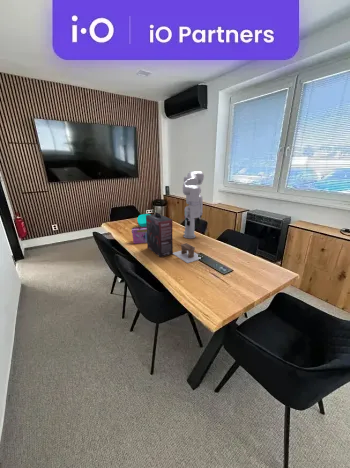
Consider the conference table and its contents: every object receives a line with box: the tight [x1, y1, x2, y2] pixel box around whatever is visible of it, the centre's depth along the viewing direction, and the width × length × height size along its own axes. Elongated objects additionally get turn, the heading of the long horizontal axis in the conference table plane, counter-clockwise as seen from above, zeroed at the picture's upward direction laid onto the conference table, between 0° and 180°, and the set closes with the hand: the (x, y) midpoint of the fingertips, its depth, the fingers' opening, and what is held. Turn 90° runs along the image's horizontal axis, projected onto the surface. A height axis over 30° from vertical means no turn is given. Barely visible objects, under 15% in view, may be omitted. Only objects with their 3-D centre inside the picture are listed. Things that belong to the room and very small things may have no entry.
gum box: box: [131, 226, 147, 245], centre depth 192 cm, size 24×8×14 cm, turn 106°
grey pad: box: [172, 250, 202, 264], centre depth 164 cm, size 21×16×1 cm
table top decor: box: [136, 213, 152, 227], centre depth 230 cm, size 40×28×13 cm
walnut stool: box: [180, 243, 196, 258], centre depth 162 cm, size 6×11×8 cm, turn 34°
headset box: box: [146, 211, 174, 258], centre depth 168 cm, size 25×12×33 cm, turn 32°
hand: (193, 224), depth 163 cm, fingers open, 9 cm apart
